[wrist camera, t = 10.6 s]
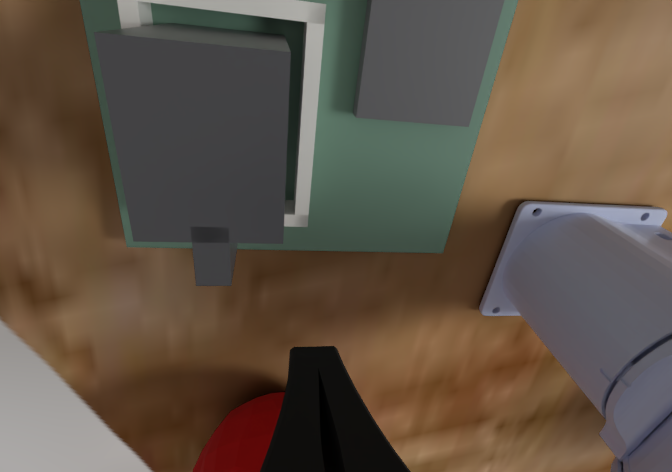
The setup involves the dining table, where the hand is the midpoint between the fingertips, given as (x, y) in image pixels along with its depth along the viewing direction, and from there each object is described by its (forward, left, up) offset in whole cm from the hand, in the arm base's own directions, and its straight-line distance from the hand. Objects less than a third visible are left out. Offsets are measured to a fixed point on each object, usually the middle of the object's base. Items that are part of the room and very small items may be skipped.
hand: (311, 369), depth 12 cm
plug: (+3, -6, -8) cm, 11 cm away
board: (0, -6, -9) cm, 11 cm away
